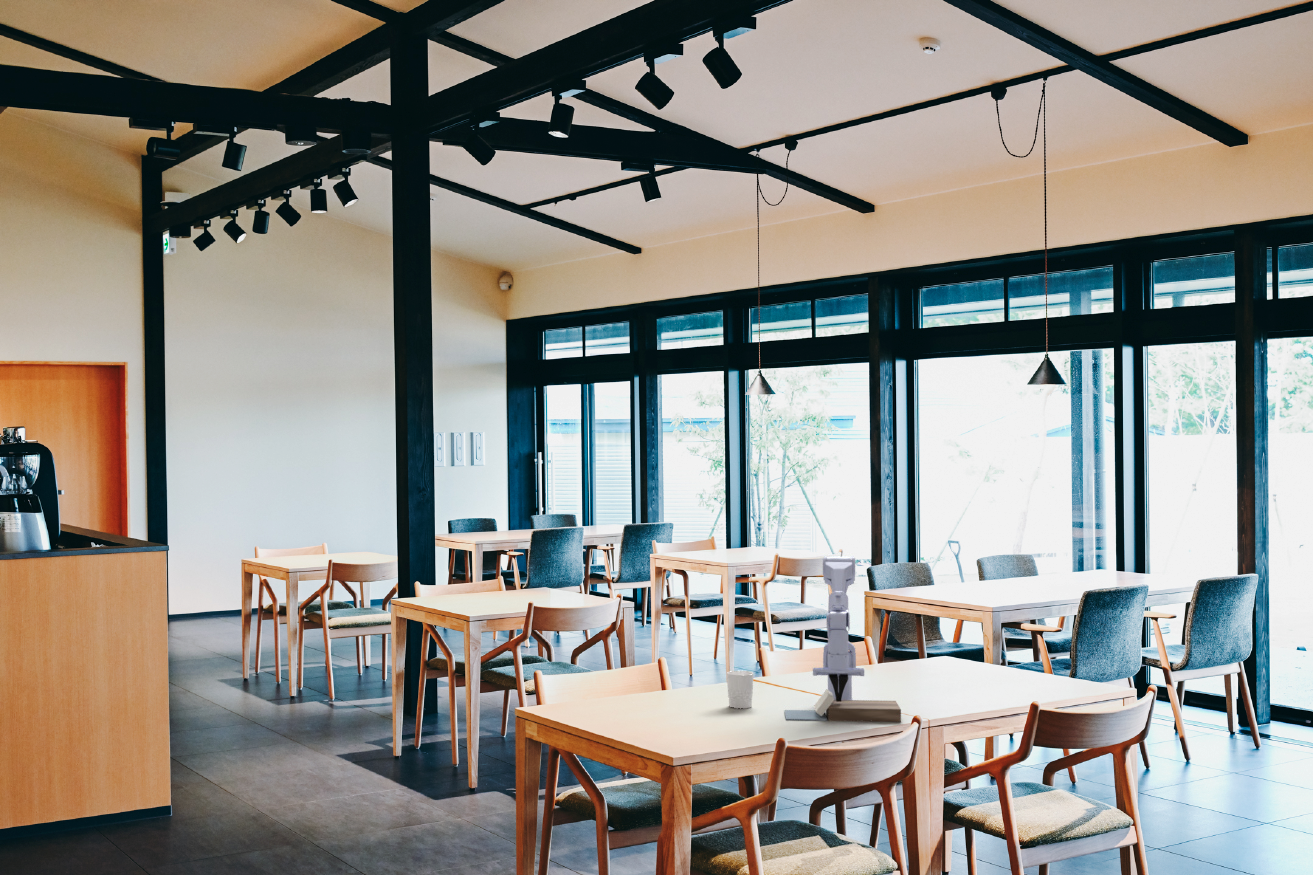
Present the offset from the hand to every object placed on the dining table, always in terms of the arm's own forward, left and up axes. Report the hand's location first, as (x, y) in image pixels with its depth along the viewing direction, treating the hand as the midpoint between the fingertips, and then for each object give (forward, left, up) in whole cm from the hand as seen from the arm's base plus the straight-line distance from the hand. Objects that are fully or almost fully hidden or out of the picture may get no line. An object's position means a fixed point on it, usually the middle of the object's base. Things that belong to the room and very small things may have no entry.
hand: (838, 700), depth 333 cm
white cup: (-12, -28, -5) cm, 31 cm away
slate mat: (0, -9, -4) cm, 10 cm away
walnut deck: (0, +7, -4) cm, 8 cm away
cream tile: (0, -3, -1) cm, 3 cm away
